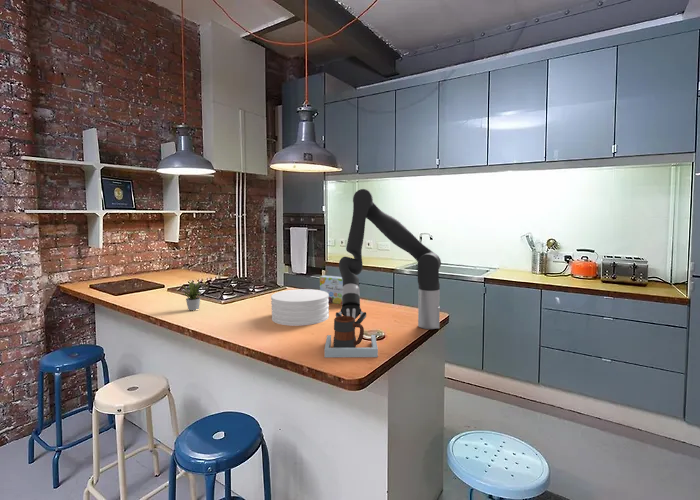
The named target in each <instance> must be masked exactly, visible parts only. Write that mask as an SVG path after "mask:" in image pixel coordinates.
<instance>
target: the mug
mask: <svg viewBox="0 0 700 500" xmlns="http://www.w3.org/2000/svg"><path fill="white" fill-rule="evenodd" d="M333 322H334V323H333V330H334V336H333V348H357V347H356V346H358V345H360V344H361V342H362V341H363V338H364V334H365V330H364V329H365V328H364V326H363V325H362V323H361V324H355V322H356V319H354V317H351V316H343V315H342V316H339V317H336V316H335V317H334V319H333ZM356 328H358V329H359V335H358V337H356Z"/></svg>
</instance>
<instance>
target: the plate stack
mask: <svg viewBox="0 0 700 500" xmlns="http://www.w3.org/2000/svg"><path fill="white" fill-rule="evenodd" d="M328 297H329V294H328V293H327V292H325V291H321V290H320V289H311V288H303V289H301V288H300V289H289V290H288V289H287V290H281V291H278V292H275V293H273V294H271V295H270V299H271V301H270V302H271V303H270V304H271V320H272V322H273V323H275V324H278V325H283V326H291V327H292V326H293V327H295V326H296V327H297V326H298V327H301V326H310V325H316V324H320V323H323V322H326V321H327V320H328V319H329V317H330V315H329V313H330V311H329V306H330V305H329V304H330V303H328V302H329V299H328Z"/></svg>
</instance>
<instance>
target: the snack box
mask: <svg viewBox="0 0 700 500" xmlns="http://www.w3.org/2000/svg"><path fill="white" fill-rule="evenodd" d="M319 290H321V291H325V292H327V293H328V294H329V297H328V299H329V302H328V304H334V305H342V290H343V280H342V276H336V275H325V274H324V275H321V276H319Z"/></svg>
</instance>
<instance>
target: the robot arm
mask: <svg viewBox="0 0 700 500" xmlns="http://www.w3.org/2000/svg"><path fill="white" fill-rule="evenodd" d="M352 203H353V207H352V208H353V209H352V218H351V223H350V224H351V225H350V229H349V232H348V237H347V243H346V246H345V247H346V248H345V251H346V252H347V253H349V254H351V256H352V257H353V258H352V257H349V256H342V257H341V258H340V260H339V263H338V270H339V273H340V277H342V280H343V290H342V304H341V308H340V311H338V312H335V318H336V317H339V316H351V317H354V319H355V324H361V325H362V322H363V321H365V320H366V318H367V312H364V311H362V308H361V295H360V294H361V293H360V292H361V291H360V279H359V277H358V276H359V274H361V273H362V271H363V266H364V265H363V255H362V249H363V244H364V239H365V238H364V237H365V231H366V230H365V229H366V227H365V226H366V220H368V221H370V222H371V223H372V224H373V225H374V226H375V227H376V228H377V230H379V231H380V232H381V234H383V235H384V236H385V237H386V238H387V239H388V240H389V241H390V242H391V243H392V244H394V245H395V246H396V247H397V248H399V249H401V250H403V251H404V252H407V253H408V254H409V255H410V256H412V257H413V258H414V260H415V261H416V262H417V284H418V296H417V297H418V298H417V299H418V301H417V303H418V305H417V306H418V308H417V309H418V310H417V311H418V312H417V313H418V314H417V317H418V318H417V325H418V327H419V328H421V329H426V330H435V329H440V316H441V315H440V314H441V313H440V312H441V311H440V310H441V308H440V291H441V290H440V285H441V284H440V278H439V277H440V272H439V270H440V268H441V264H442V262H441V261H442V260H441V258H440V256H439V255H438V254H436V253H435V252H434V251H432V250H431V249H429V248H428V247H427V246H426V245H425V244H423V243H422V242H421V241H420V240H419V239H418V238H417V237H416V236H415V235H414V234H413V232H411V231H410V230H409V229H408V228H407V227H406V226H405V225H404V224H403V223H402V222H401V221H399V220H398V219H396V218H395V217H393V216H391V215H389V214H387V213H385V212H384V211H383V210H382V209H380V207H379V206H377V204H375V202H374V199H373V195H372V193H371V192H370V191H369V189H365V188H362V189H358V190H357V191H355V192H354V194H353V196H352Z"/></svg>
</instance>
